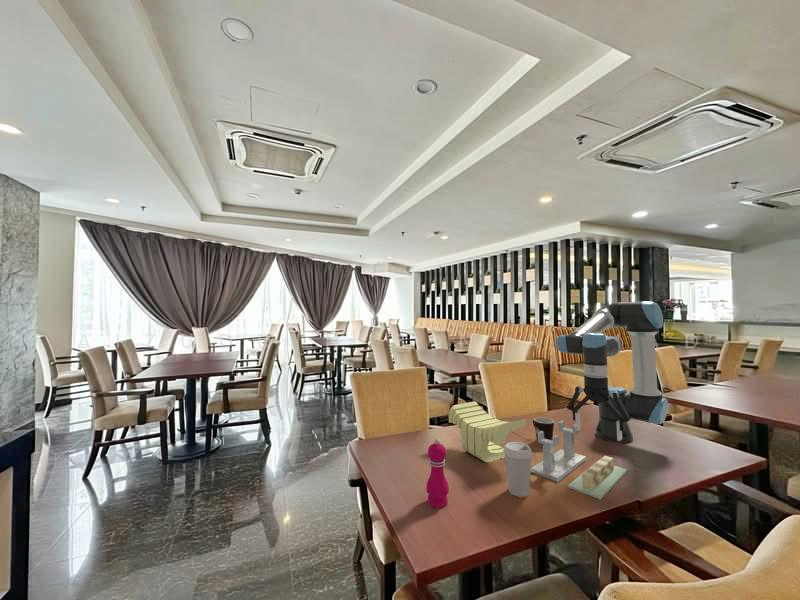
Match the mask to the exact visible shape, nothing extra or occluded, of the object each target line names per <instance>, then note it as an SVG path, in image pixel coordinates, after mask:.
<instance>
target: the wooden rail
mask: <svg viewBox="0 0 800 600" xmlns="http://www.w3.org/2000/svg"><path fill="white" fill-rule="evenodd" d="M597 461H598V462H597ZM597 461H596V462H594V463H593V464H594V465H593V464H592V465H593V466H592V465H591V466H592V467H591V466H590V467H589V468H587V469H588V470H587V469H586V470H587V471H586V470H585V471H584V472H582V473H583V474H582V473H581V474H582V485H583V486H584V487H586V488H589V489H593V488H594V487H595V486H596V485H597V484H598V483H600V482H601V481H602V480H603V479H604V478H605V477H606V476H607V475H608V474H609V473H610V472H611V471H612V470H613V469H614V466H615V464H614V461H615V460H614V457H611V456H608V455H604V456H603V457H601V458H600V459H599V460H597Z"/></svg>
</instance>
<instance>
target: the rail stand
mask: <svg viewBox="0 0 800 600" xmlns="http://www.w3.org/2000/svg"><path fill="white" fill-rule="evenodd" d="M558 432H562V435H563V436H562V437H563V441H562V442H563V449H562V448H560V449H559V450H556V452H555V448H556V447H558V446H560V437H559V435H557V434H555V435H553V437H552V440H548V439H545V438H544V432H543V431H540V432H538V442H539V443H542V444H541V445H542V461H540V462H538V463H537V464H535V465H534V466H531V471H530V473H533V474H534V475H537V474H538V476H540V477H543V478H545V479H547V480H548V479H549V480H551V481H554V482H557V483H559V482H560V481H562V479H564V478H565V477H566V476H568V475H569V474H571V473H572V472H574V470H575V469H577V468H579V466H581V465H582V464H583V463H584V461H585V462H586V461H587V456H585V455H583V454H579V453H576V452H575V436H576V435H578V434H579V430H578V431H577V430H576V423H575V424H573V425H572V428H568V427H566V426H565V421H564V420H561V421H558ZM538 442H537V443H538ZM539 443H538V444H539Z"/></svg>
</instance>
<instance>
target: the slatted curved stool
mask: <svg viewBox="0 0 800 600" xmlns="http://www.w3.org/2000/svg"><path fill="white" fill-rule="evenodd" d="M448 423H451V424H454V425H456V427H458V429H459V430H460V436H461V442H462V448H463V450H464V451H465V452H467V453H469V454H471V455H472V456H474V457H476V458H477V459H479V460H481V461H482V462H485V463H490V461H491V462H494V461H493V460H495V461H498V460H501V459H500V458H502V459H504V457H505V454H504V452H503V450H504V447H502V446H501V445H504V444H506V440H507V437H508V435H509V434H511V432H513V431H514V430H518V429H519V428H523V427H526V426H527V418H522V419H519V420H514V421H502V420H500V419H498V418H495V417H494V416H492V415H490V414H489V413H487V411H486V410H483V407H481V406H480V405H479V404H478V403H477V401H469V402H465V403H459V404H455V405H452V406H451V407H450V409H449V410H448ZM497 459H498V460H497Z"/></svg>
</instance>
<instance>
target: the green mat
mask: <svg viewBox="0 0 800 600" xmlns="http://www.w3.org/2000/svg"><path fill="white" fill-rule="evenodd" d="M598 461H599V460H597V461H596V462H598ZM594 464H595V463H593V464H592V465H591V466H590V467H592V466H593V465H594ZM588 469H589V468H587V469H586V470H585V471H587V470H588ZM583 473H584V472H582V473H581V474H580V475H579V476H577V477H576V478H575V479H574V480H572V482H570V483H569V484H568V485H567V487H568V488H569V489H571V490H574V491H576V492H579V493H581V494H584V495H588V496H590V497H592V498H595V499H598V500H599V501H602V499H603V498H604V497H605V496H606V495H607V493H609V492H610V490H612V488H613V487H614V486H615V485H616V484H617V483H618V482H619V481H621V479H622V478H624V476H625V474H627V473H628V469H626V468H623V467H620V466H618V465H614V469H613V470H612V471H611V472H610V473H609V474H608V475H607V476H606V477H605V478H604V479H603V480H602V481H601V482H600V483H598V484H597V485H596V486H595V487H594V488H593V489H589V488H586V487H584V486H583V485H582V474H583Z"/></svg>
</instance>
